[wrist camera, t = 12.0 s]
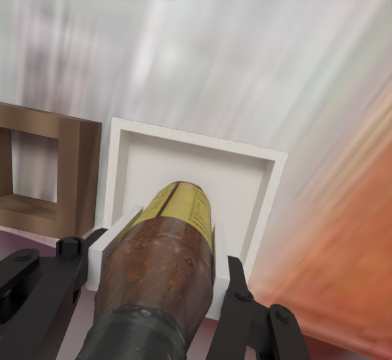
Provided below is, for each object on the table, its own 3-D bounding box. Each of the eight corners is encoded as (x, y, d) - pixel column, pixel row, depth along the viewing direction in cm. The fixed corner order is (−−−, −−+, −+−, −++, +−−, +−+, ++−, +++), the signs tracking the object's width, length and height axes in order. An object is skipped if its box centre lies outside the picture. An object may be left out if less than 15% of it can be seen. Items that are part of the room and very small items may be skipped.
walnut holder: (-2, 205, 28) (-37, 216, 24) (-8, 100, 24) (-50, 94, 20) (94, 226, 27) (74, 242, 23) (101, 122, 24) (80, 121, 20)
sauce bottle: (160, 229, 24) (-66, 636, 5) (155, 179, 22) (-206, 464, 3) (215, 229, 23) (217, 703, 4) (213, 177, 22) (202, 524, 3)
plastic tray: (114, 237, 27) (100, 252, 24) (126, 119, 23) (112, 117, 20) (242, 266, 27) (246, 286, 23) (277, 149, 23) (288, 153, 19)
